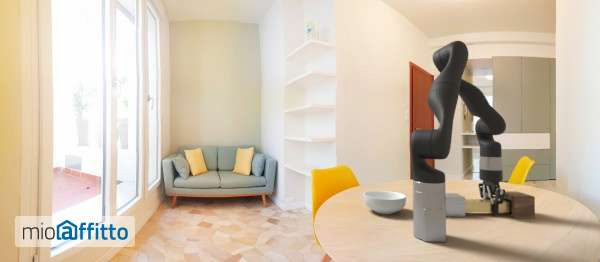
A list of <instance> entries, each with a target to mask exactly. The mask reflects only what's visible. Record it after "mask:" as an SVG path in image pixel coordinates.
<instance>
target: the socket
mask: <svg viewBox="0 0 600 262" xmlns="http://www.w3.org/2000/svg"><path fill="white" fill-rule="evenodd" d="M504 199H507V200H510V201H511V208H512V213H504V214H505V215H507V216H510V217H512V218H514V219H535V218H536V213H535V212H536V210H535V209H536V208H535V207H536V206H535V205H536V202H535V200H536V199H535V196H533V195H530V194H527V193H524V192H520V191H517V190H515V191H509V190H508V191H507V190H505V196H504ZM499 200H500V199H499Z"/></svg>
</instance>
